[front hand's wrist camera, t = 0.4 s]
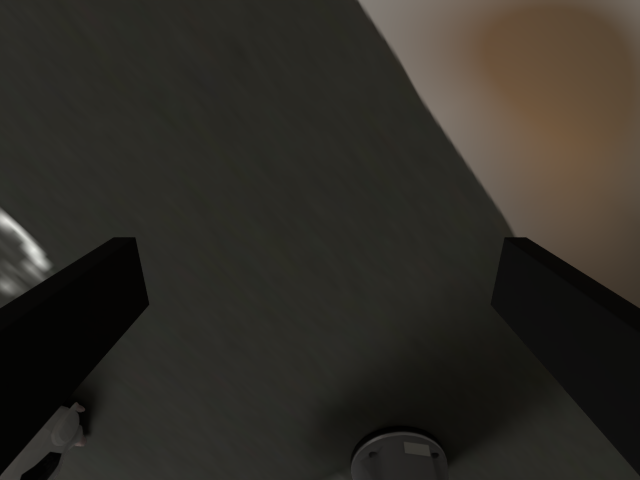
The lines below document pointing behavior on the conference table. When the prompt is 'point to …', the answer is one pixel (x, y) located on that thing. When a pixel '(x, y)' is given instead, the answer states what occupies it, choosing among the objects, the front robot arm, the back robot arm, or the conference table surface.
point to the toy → (48, 447)
